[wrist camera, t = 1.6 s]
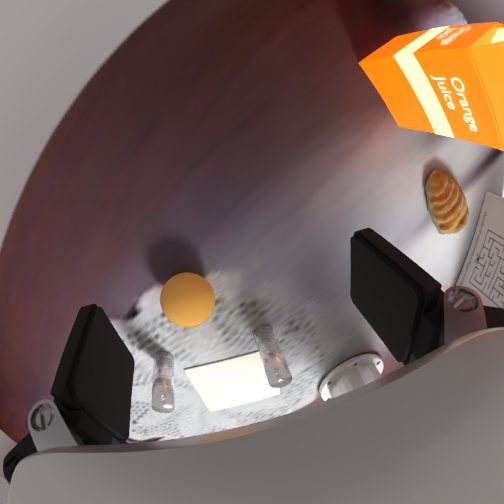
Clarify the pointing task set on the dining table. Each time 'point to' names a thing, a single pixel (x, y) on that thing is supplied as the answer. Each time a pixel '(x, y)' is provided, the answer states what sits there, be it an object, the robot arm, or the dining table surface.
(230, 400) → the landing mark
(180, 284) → the ball
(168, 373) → the post left
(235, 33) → the dining table surface
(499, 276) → the cereal box
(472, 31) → the orange juice
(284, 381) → the post right
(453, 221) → the pastry
